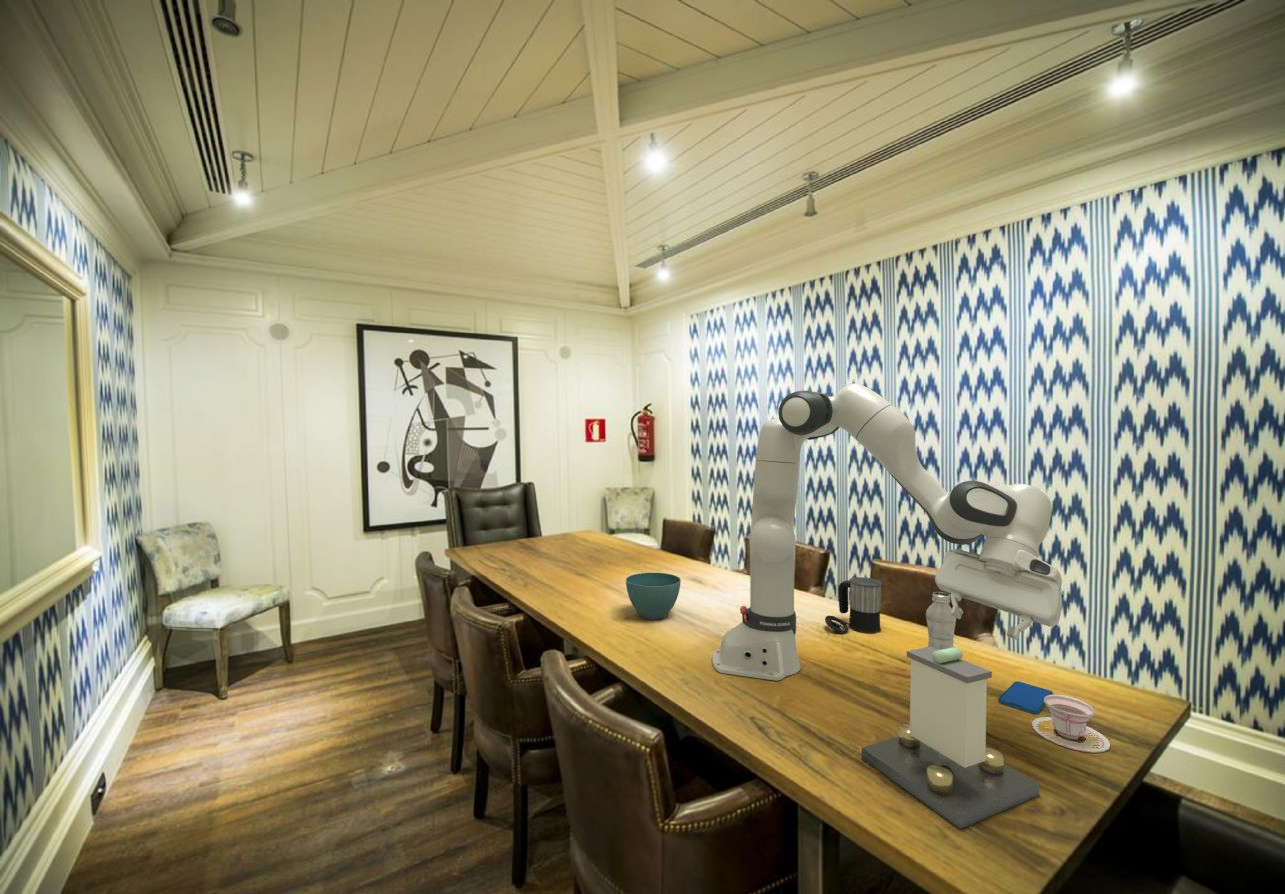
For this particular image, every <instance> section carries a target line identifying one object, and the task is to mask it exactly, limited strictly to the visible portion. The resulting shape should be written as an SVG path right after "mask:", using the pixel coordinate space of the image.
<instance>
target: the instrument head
mask: <svg viewBox="0 0 1285 894" xmlns="http://www.w3.org/2000/svg"><path fill="white" fill-rule="evenodd" d="M963 656H964V653H963V651H962V649H961V648H960V647H958V646H955V647H953V648H948V649H943V650H937V649H935V648H932V647H928V646H925V647H922V648H921V647H920V648H916V649H911V650H906V657H907V658H909V659H910V689H909V690H910V694H909V696H910V697H909V698H910V700H909V725H910V735H911V736H913V737H914V738H916V739H918V740H919V741H921V742H923V743H924V744H926V745H928V746H929V747H931V748H933V749H934V750H936V751H938V757H939V759H940V760H941V761H942V762H943V763H945V764H950V763H952V762H953V761H954V762H956V763H958V764H959V765H961V766H963V767H964V768H966V767H969V766H972V765H975V764H978V763H981V762H983V761H985V752H986V748H987V746H986V743H987V742H986V740H987V688H988V687H987V685H988V683H987V682H988V680H987V679H992V677H993V671H991V670H990V669H987V668H984V667H982V666H979V665H977V664H974V663H973V662H969V661H967V660H964V659H962V658H963Z"/></svg>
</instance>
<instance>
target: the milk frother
mask: <svg viewBox="0 0 1285 894" xmlns="http://www.w3.org/2000/svg"><path fill="white" fill-rule="evenodd" d="M881 586H882V581H880V580H878V579H875V578H871V577H861V576H860V577H859V576H856V577H851V578H849V580H844V581H841V582H840V583H839V584H838V589H837V590H838V591H837V592H838V606H839V607H838V610H839V612H840V614H847V613H848V612H849V619H848V620H849V621H848V622H846V621H844V620H843V619H841V618H839V617H836V616H835V615H826V616H825V618H824V621H825V623H826V626H828V628H830V629H831V630H833V631H834V632H835V633H841V634H843V633H844V634H845V633H846V634H847V633H849V629H851V630H853V629H854V631H855V632H856V631H857V632H859V631H860V633H864V632H867V633H866V634H877V633H876V632H878V633H880V632H881V631H882V627H881V595H882V593H881V589H882V587H881ZM849 589H850V590H849ZM848 590H849V591H850V593H849V591H848ZM842 626H843V628H842Z"/></svg>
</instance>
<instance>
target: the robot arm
mask: <svg viewBox="0 0 1285 894" xmlns="http://www.w3.org/2000/svg"><path fill="white" fill-rule="evenodd" d="M840 428H841V429H843V430H844V431H845V432H847V433H848V434H849V435H850V436H851V437H853V439H854V440H856V441H857V442H858V444H860V445H861V446H862V447H863V448H864V449H865V450H866V451H867V452H868V453H870V454H871V456H873V457H874V459H876V460H877V461H878V463H880V465H881V466H882V467H883V468H885V470H886V471H887V472H888V474H889V475H890V476H891V477H892V478H893V479H894V480H895V482H896V483H897V484H898V485H899V486H900V487H901V488H902V489H903V490H904V491H905V492H906V493H907V494H908V495H909V497H911V498H912V499H913V501H914V502H916V504H918V505H919V507H920V508H921V509H922V510H923V511H924V512H925V514H926V516H927V517H928V519H929V521H930V524H931V526H932V527H933V530H934V531H935V532H936V534H937V535H938V536H939V537H940V538H941V539H943V540H944V541H946V542H949V543H951V544H954V545H963V546H964V545H970V544H972V543H975V542H977V541H978V540H979V539H980V538H981V537H982V535H983V536H984V537H985V540H984V543H983V545H982V548H981V550H980V553H979V554H978V553H975V552H972V551H966V550H963V549H960V548H955V549H949V550H948V551H946V552H945V553H944V557H943V559H942V564H941V566H939V569H938V571H937V573H936V575H935V577H934V583H935V584H936V586H937V588H938V589H939V590H941V592H942V591H943V592H944V593H947V594H949V595H950V602H951V604H952V607H951V608H952V610H951V616H952V617H955V618H956V619H958V620H961V619H962V615H963V613H964V611H963V609H962V607H960V606H959V605H958V602H961V601H962V599H963V598H964V599H966V600H969V601H972V602H975V603H979V604H981V605H984V606H987V607H990V608H993V609H996V610H999V611H1002V612H1004V613H1008V614H1011V615H1015V616H1017V617H1020V619H1019V620H1020V621H1021V622H1020V623H1018V624H1017V625H1015V626H1012V625H1009V626H1008V630H1007V632H1006V635H1007V637H1008V638H1010V639H1012V640H1015V641H1018V639H1019V636H1020V633H1022V632H1024V631H1025V630H1027V629H1028V628H1030V627H1031V626H1032V622H1035V623H1036V624H1037V623H1038V624H1041V625H1044V626H1047V627H1050V628H1052V627H1055V626H1057V625H1059V621H1060V619H1061V614H1062V606H1063V597H1062V593H1061V592H1062V591H1060V590H1061V587H1062V583H1063V579H1062V575H1061V573H1060V571H1059V569H1058V568H1057V567H1055V566H1054V565H1052V564H1049V563H1047V562H1045V561H1043V560H1042V559H1041V558H1039V553H1040V552H1039V550H1040V545H1041V543H1042V542H1043V541H1044V540H1045V538H1046V536H1047V533H1048V531H1049V530H1048V529H1049V525H1050V522H1051V517H1052V511H1053V510H1052V509H1053V508H1052V507H1053V505H1052V502H1051V500H1050V497H1049V496H1048V495H1047V494H1046V493H1045V492H1044V491H1042V490H1041V489H1039V488H1037V487H1035V486H1032V485H1029V484H1026V483H1019V482H1018V483H1014V484H1007V485H999V484H998V485H995V484H988V483H985V482H983V481H978V480H965V481H963V482H960V483H958V484H956V485H955V486H954V487H953V488H952V489H951V491H950V492H948V491H947V490H945V488H944V487H943V486H942V485H941V484H940V483H939V482H938V481H937V480H936V479H935V478H934V477H933V476H932V475H931V474H929V472H928V471H927V470H926V469H925V468H924V467H923V466H922V465H923V464H921V461H920V460H919V456H918V452H917V446H916V432H915V431H916V430H915V428H914V426H913V424H912V423H911V421H910V420H909V418H908V417H907V416H906V415H905V414H904V413H903V412H902V411H901V410H900V409H899V408H897V407H896V406H895V405H894V404H893V403H892V402H890V401H889V400H887V399H886V398H885V397H883V396H882V395H880V394H878V393H877V392H875V390H873V389H871V388H869V387H866V386H865V385H863V384H861V383H855V382H854V383H849V384H847V385H845V386H843V387H842V388H841V389H839V390H838V391H837V392H836V393H835V394H834V395H832V396H831V395H827V394H826V393H822V392H819V391H811V390H798V391H794V392H791V393H789V394H787V395H786V396H785V397H783V399H782V400H781V402H780V404H779V408H778V417H775V418H771V419H769V420H767V421H765V422H764V423H763V424H762V426H761V429H760V432H759V436H758V439H757V440H758V441H757V447H756V451H755V465H754V476H753V477H754V478H753V479H754V480H753V492H752V493H753V495H752V510H751V524H750V534H749V579H750V582H749V585H750V588H749V589H750V591H749V593H750V594H749V595H750V596H749V597H750V598H749V599H750V603H749V604H750V605H749V606H750V607H747V606H746V605H741V607H740V608H739V612H740V614H741V618H742V619H741V620H742V622H740V623H739V624H737V625H735V627H732V628H731V629H730V630H728V631H727V632H725V634H724V635H723V636H722V637H723V638H722V640H721V645H720V647H719V648H716V649H715V650H714V651H713V653H712V655H711V656H712V658H711V664H712V667H713V668H714V669H715V670H716V671H717V672H718V673H720V674H726V675H727V674H728V675H732V676H742V677H746V678H747V677H749V678H756V679H761V680H767V681H768V680H770V681H781V680H783V679H784V678H785V677H788V676H792V675H795V674H797V673H798V672H799V671H800V670H801V669H802V667H801V662H800V659H799V655H798V649H797V642H796V633H797V632H796V631H797V614H796V611H795V572H796V571H795V570H796V544H797V543H796V542H797V541H796V536H795V535H796V534H795V531H794V524H795V523H794V522H795V515H796V505H797V499H798V493H799V492H798V491H799V490H798V489H799V476H800V461H801V452H802V451H801V449H802V446H803V443H804V442H805V441H806V440H808V441H812V440H815V439H819V438H824V437H827V436H830V435H832V434H834V433H836V432H837V431H838V430H840Z"/></svg>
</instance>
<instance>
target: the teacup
mask: <svg viewBox="0 0 1285 894" xmlns="http://www.w3.org/2000/svg"><path fill="white" fill-rule="evenodd" d="M1044 703H1045V707H1047V708H1048V712H1049V713H1050V716H1043V717H1037V718H1035V719H1033V720H1032V722H1031V727H1032V726H1033V727H1032V730H1034V731H1035V733H1036V734H1037V735H1038V736H1041V737H1042V738H1044V739H1045V740H1047V741H1048V742H1049V741H1050V742H1051V743H1053V744H1056V745H1058V746H1061V747H1064V748H1065V749H1066V748H1067V749H1071V750H1075V751H1079V752H1084V753H1085V752H1086V753H1093V754H1094V753H1105V752H1106V751H1107V752H1108V751H1109V750H1110V748H1111V743H1110V741H1109V739H1108V738H1107V737H1105V736H1104V734H1102V733H1100V732H1098V731H1097V730H1095V729H1094V728H1092V727H1089V726H1087V724H1088V723H1089V722H1090V720H1091V718H1093V717H1094V716H1095V709H1094V708H1093V707H1092V706H1091V705H1090V704H1088V703H1087V702H1086V701H1083V700H1081V699H1078V698H1076V697H1072V696H1069V695H1064V694H1053V695H1048V696H1046V697H1045V698H1044ZM1043 721H1051V725H1052V726H1053V728H1054V729H1055V730H1056V731H1057V733H1058V736H1046V735H1057V734H1056V732H1055V730H1051V731H1054V732H1044V733H1055V734H1043V733H1042V732H1041V731H1040V730H1039V729H1038V728H1039V727H1037V726H1038V725H1037V724H1039V722H1043ZM1045 726H1046V725H1045ZM1045 728H1050V727H1045ZM1051 729H1052V728H1051ZM1088 733H1091V734H1088ZM1059 735H1060V736H1059ZM1086 735H1088V736H1086ZM1089 735H1093V736H1089ZM1094 735H1095V736H1094ZM1061 736H1062V737H1061ZM1049 737H1056V738H1063V737H1064V738H1063V739H1050V738H1049ZM1080 737H1083V738H1084V741H1080V742H1081V743H1078V742H1079V741H1073V740H1079V739H1080ZM1086 737H1090V738H1091V739H1089V740H1093V739H1092V737H1095V738H1096V737H1097V738H1100V739H1097V740H1100V741H1086V740H1088V739H1086V740H1085V738H1086ZM1078 738H1079V739H1078ZM1069 739H1070V740H1069ZM1055 740H1059V741H1060V740H1061V741H1060V742H1061V743H1059V741H1055ZM1062 740H1063V741H1062ZM1064 740H1065V741H1064ZM1070 742H1071V743H1070ZM1082 742H1083V743H1082ZM1086 742H1088V743H1086ZM1089 742H1090V743H1089ZM1094 742H1095V743H1094ZM1096 742H1099V743H1096ZM1097 744H1098V745H1100V746H1093V745H1097ZM1076 745H1077V746H1076ZM1081 745H1083V746H1081ZM1085 745H1090V746H1085ZM1082 747H1086V748H1082ZM1087 747H1088V748H1087ZM1089 747H1090V748H1089ZM1091 747H1095V748H1091ZM1096 747H1098V748H1096Z"/></svg>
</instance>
